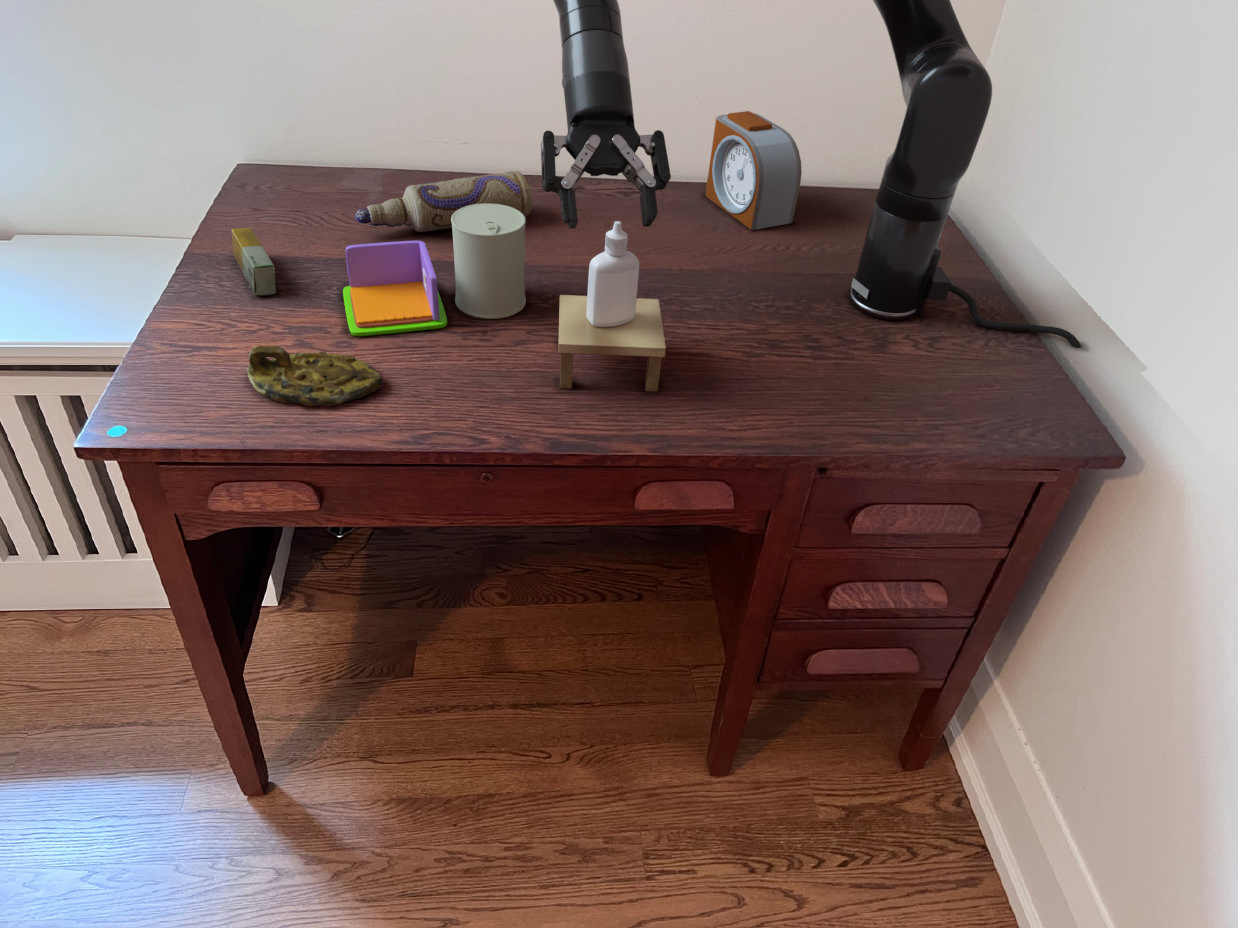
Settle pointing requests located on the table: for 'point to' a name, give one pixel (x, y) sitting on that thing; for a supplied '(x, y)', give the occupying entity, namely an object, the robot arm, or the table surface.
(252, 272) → the medication box
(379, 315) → the dollhouse room
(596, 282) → the eye dropper bottle
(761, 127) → the alarm clock
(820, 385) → the table surface
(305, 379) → the seal
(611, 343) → the stand
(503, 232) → the can
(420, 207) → the decorative bottle
